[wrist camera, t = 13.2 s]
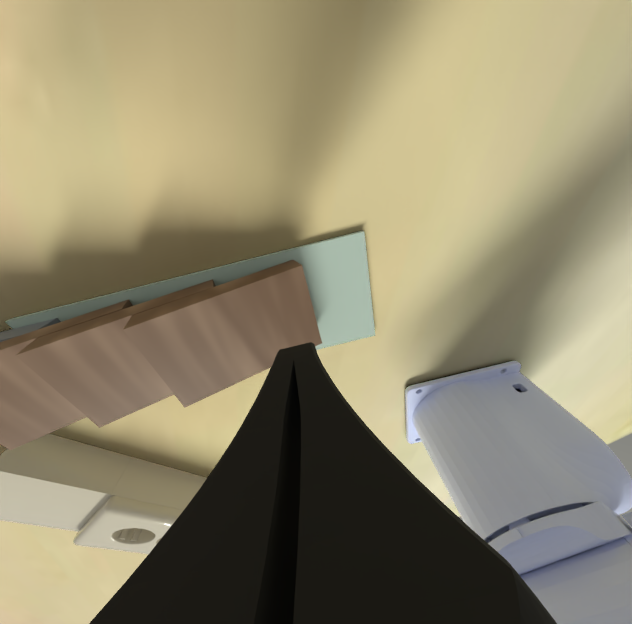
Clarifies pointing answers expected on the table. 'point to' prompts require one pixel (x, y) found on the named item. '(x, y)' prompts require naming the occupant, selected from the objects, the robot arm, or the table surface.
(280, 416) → the robot arm
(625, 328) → the table surface
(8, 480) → the electrical outlet
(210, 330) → the walnut domino
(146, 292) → the sage mat
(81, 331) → the walnut domino
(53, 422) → the walnut domino
